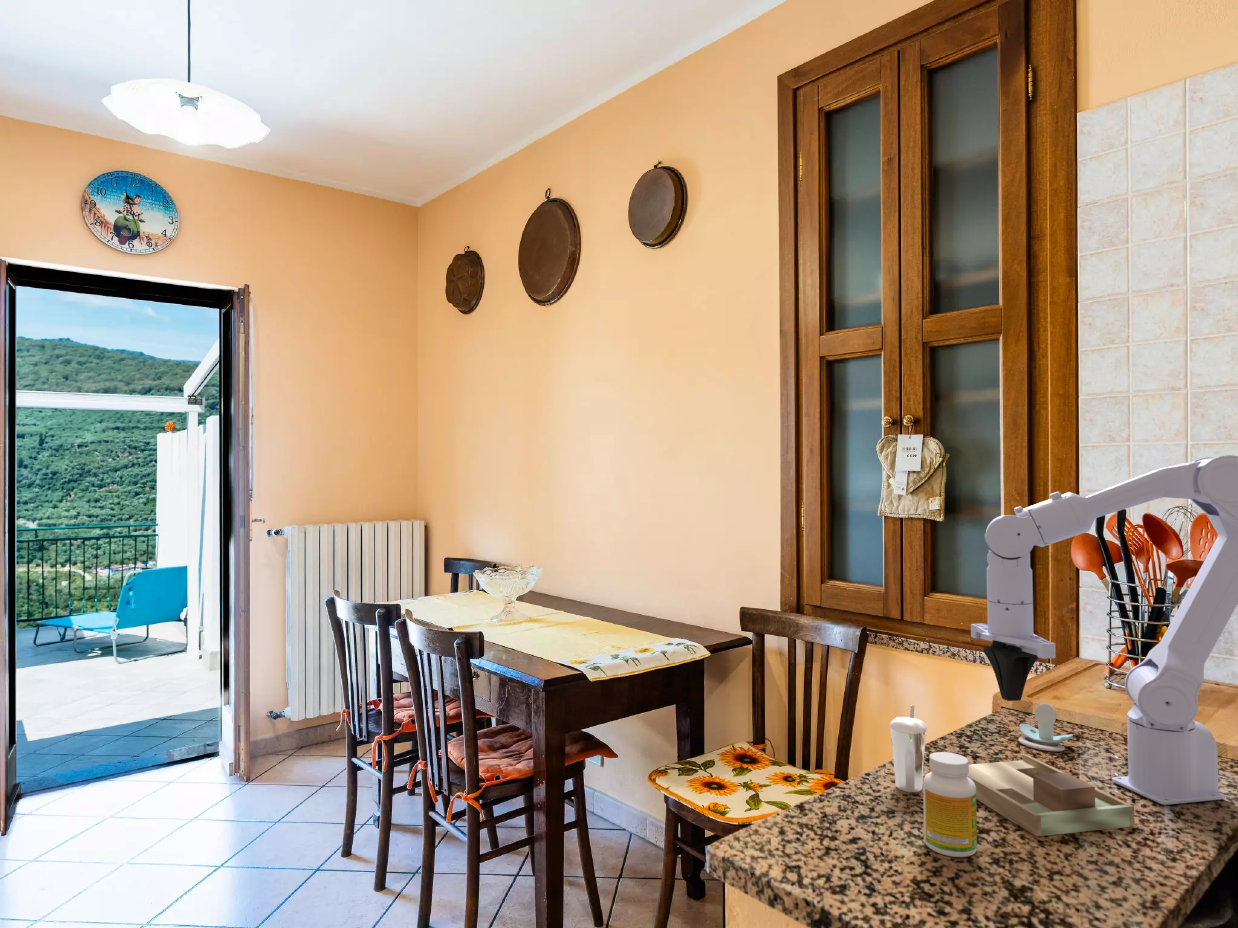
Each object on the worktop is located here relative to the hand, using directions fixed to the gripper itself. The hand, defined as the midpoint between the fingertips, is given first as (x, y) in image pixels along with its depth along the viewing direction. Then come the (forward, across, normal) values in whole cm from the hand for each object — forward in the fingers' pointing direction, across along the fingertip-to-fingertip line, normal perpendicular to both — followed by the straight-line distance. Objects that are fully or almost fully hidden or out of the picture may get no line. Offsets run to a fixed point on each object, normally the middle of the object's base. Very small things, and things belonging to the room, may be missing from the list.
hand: (1011, 699), depth 106 cm
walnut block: (+8, +14, -4) cm, 17 cm away
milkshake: (+10, +2, -17) cm, 20 cm away
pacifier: (+10, -8, +12) cm, 18 cm away
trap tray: (+10, +9, -4) cm, 14 cm away
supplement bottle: (+10, +18, -22) cm, 30 cm away
